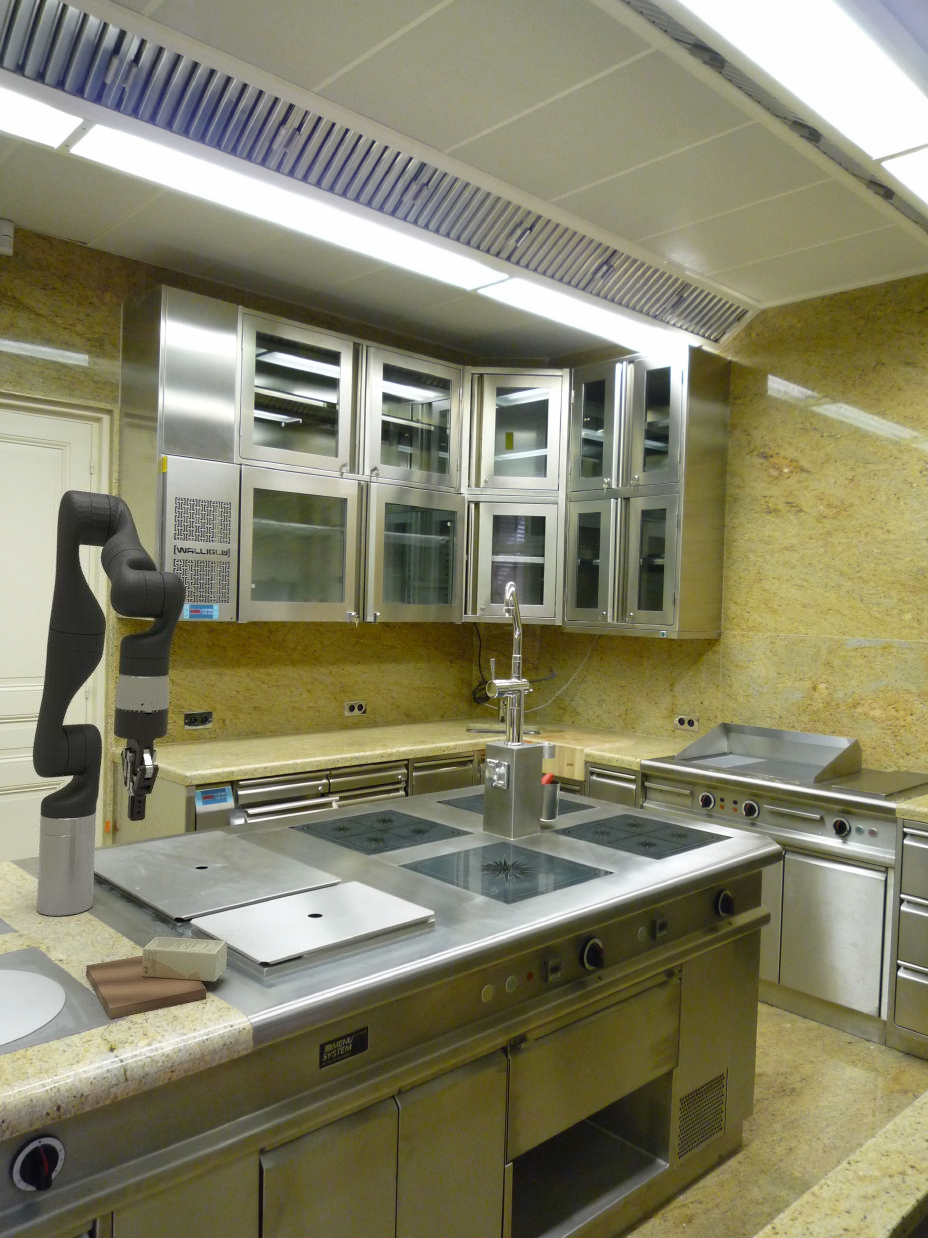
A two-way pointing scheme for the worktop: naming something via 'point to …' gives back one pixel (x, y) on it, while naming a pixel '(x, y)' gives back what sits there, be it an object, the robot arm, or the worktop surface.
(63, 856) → the robot arm
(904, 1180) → the worktop surface
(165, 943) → the box
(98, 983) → the board
